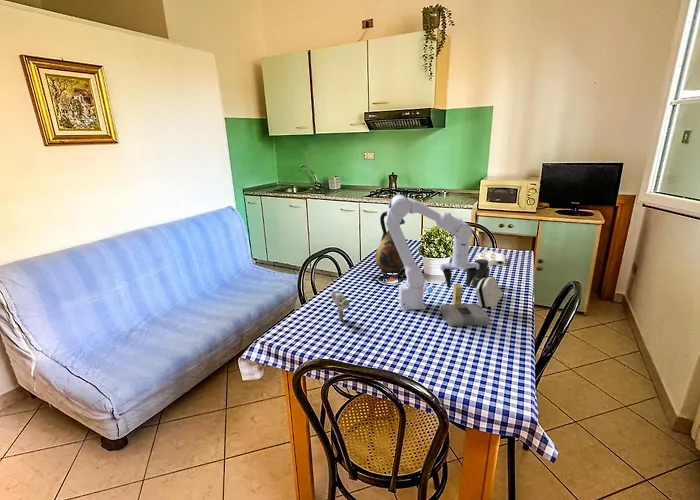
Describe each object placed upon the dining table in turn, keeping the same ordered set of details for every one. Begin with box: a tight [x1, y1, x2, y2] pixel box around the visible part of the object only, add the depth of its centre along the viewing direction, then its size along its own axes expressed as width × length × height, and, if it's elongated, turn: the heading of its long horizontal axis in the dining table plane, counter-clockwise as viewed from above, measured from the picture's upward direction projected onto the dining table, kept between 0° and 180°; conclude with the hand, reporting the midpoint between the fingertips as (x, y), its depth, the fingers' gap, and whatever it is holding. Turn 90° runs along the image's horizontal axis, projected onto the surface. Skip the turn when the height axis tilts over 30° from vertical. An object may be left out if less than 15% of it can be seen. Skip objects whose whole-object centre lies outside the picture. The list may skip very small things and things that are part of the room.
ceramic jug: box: [374, 210, 406, 275], centre depth 176 cm, size 17×15×30 cm
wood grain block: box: [452, 283, 463, 304], centre depth 144 cm, size 2×3×8 cm
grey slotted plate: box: [440, 303, 490, 327], centre depth 134 cm, size 14×11×3 cm
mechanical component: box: [331, 290, 350, 322], centre depth 133 cm, size 3×10×10 cm, turn 28°
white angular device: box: [475, 276, 504, 311], centre depth 147 cm, size 17×5×10 cm, turn 145°
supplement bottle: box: [471, 259, 491, 289], centre depth 160 cm, size 7×7×12 cm
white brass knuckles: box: [475, 249, 506, 267], centre depth 193 cm, size 3×18×15 cm
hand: (458, 286), depth 142 cm, fingers open, 7 cm apart
